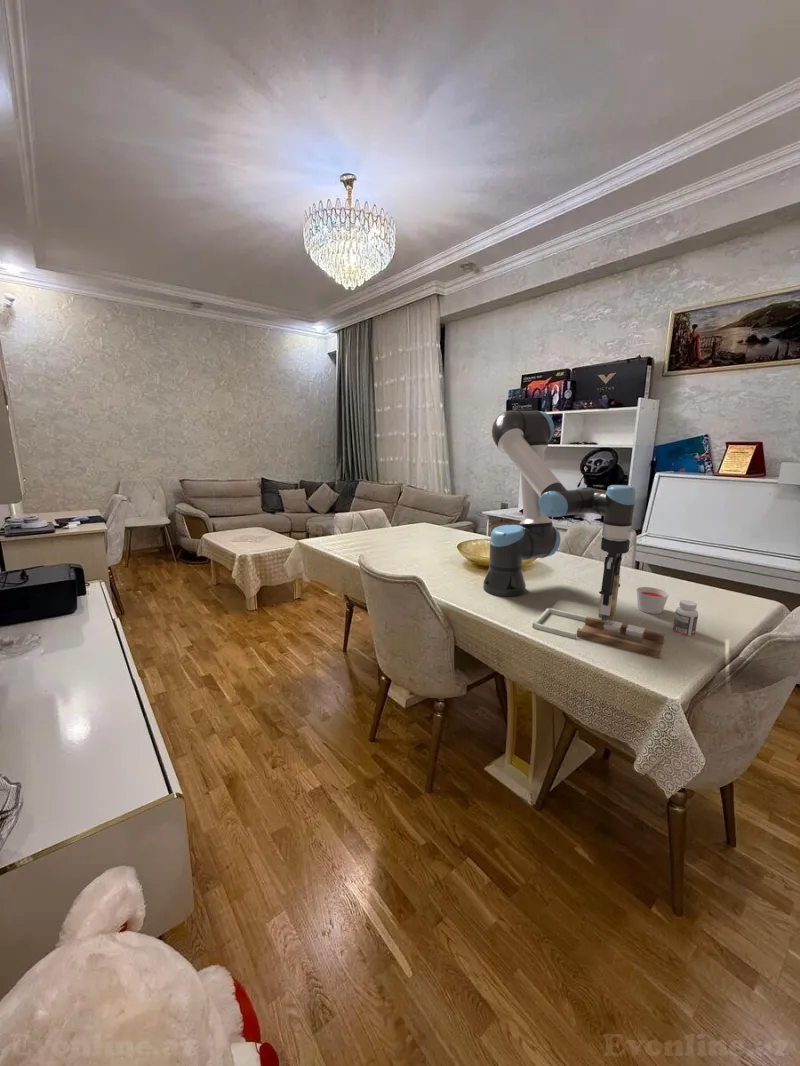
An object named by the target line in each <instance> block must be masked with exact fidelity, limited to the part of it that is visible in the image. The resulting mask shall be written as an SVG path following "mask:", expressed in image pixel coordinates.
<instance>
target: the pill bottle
mask: <svg viewBox="0 0 800 1066" xmlns="http://www.w3.org/2000/svg"><path fill="white" fill-rule="evenodd" d="M697 605H698V604H697V603H696V602H695V601H692V600H689V599H688V600H687V599H681V600H680V601H679V607H677V608H676V609H675V612H674V619H673V626H672V630H673V631H674V633H677V634H680V635H683V636H694V635H695V634H696V630H697V623H698V617H699V612H698V610H697Z"/></svg>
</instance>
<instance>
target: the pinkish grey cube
mask: <svg viewBox="0 0 800 1066" xmlns="http://www.w3.org/2000/svg"><path fill="white" fill-rule="evenodd" d="M627 626H628V627H627V629H626V635H625V640H628V641H632V642H636V643H640V644H643V640H644V633H645V630H646V628H645V627H641V626H637V625H633V624H627Z"/></svg>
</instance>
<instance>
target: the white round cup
mask: <svg viewBox="0 0 800 1066" xmlns="http://www.w3.org/2000/svg"><path fill="white" fill-rule="evenodd" d="M669 595H670V594H669V592H668V591H666V590H664V589H661V588H659V587H658V588H657V587H651V586H639V587H637V588H636V600H637V608H638V610H640V611H641V612H644V613H647V614H650V615H659V614H662V613H663V610H664V608H665V606H666V603H667V600H668V598H669Z"/></svg>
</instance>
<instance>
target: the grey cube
mask: <svg viewBox="0 0 800 1066" xmlns="http://www.w3.org/2000/svg"><path fill="white" fill-rule="evenodd" d="M622 625H624V624H623V622H620V621H615V620H609V619H608V620H606V622H605V624H604V629H603V634H604V635H608V636H612V637H616V638H620V637H621V632H622Z"/></svg>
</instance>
